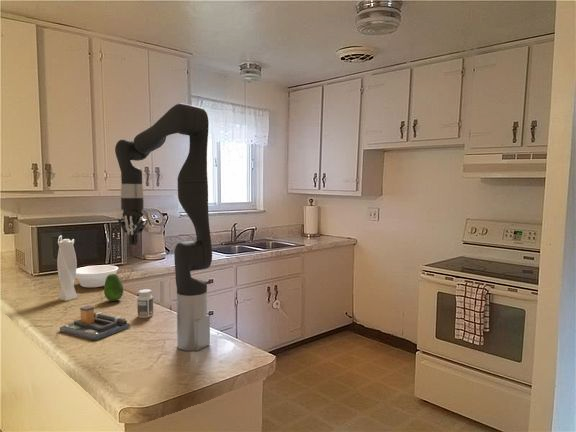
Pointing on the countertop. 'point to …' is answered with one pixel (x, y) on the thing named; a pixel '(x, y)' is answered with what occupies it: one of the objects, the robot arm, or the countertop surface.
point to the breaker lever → (87, 314)
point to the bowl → (94, 275)
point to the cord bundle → (110, 318)
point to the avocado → (113, 288)
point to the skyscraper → (66, 269)
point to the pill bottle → (145, 303)
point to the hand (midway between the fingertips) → (133, 244)
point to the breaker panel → (93, 329)
